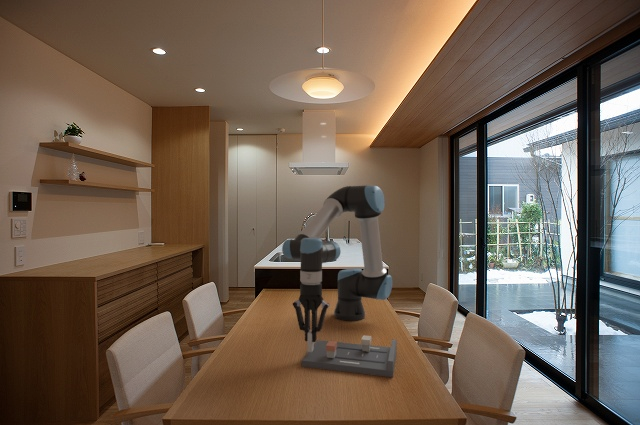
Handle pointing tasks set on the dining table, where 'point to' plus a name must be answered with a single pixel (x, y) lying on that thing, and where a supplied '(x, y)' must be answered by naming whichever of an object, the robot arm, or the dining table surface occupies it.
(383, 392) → the dining table surface
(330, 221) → the robot arm
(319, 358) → the console
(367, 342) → the fader
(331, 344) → the fader
